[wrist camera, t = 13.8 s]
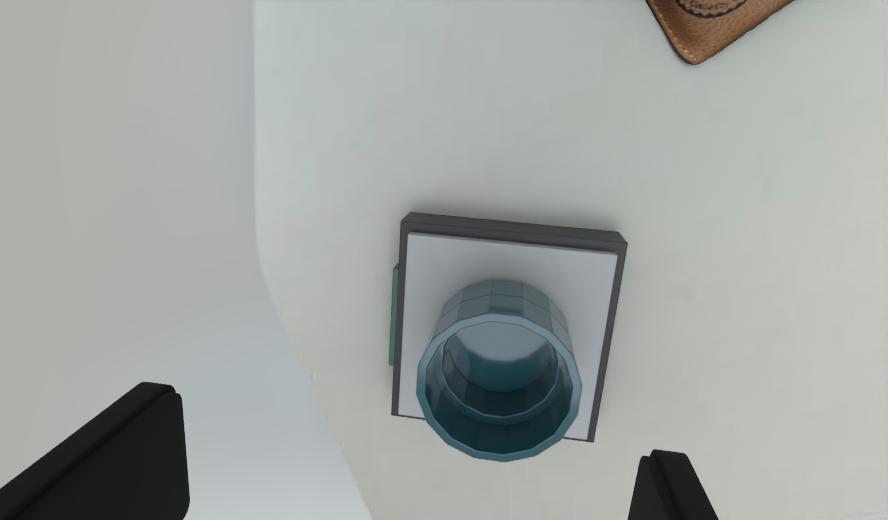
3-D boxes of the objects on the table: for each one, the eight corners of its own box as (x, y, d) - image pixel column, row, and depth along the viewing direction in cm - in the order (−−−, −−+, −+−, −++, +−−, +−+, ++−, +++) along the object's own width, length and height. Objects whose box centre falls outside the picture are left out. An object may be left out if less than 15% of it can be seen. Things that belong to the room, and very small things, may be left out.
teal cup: (429, 392, 29) (412, 449, 24) (438, 269, 27) (421, 304, 22) (560, 409, 28) (569, 472, 23) (578, 284, 26) (592, 324, 21)
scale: (393, 392, 32) (381, 420, 29) (402, 211, 29) (390, 222, 26) (587, 418, 31) (595, 449, 28) (619, 231, 28) (630, 246, 25)
